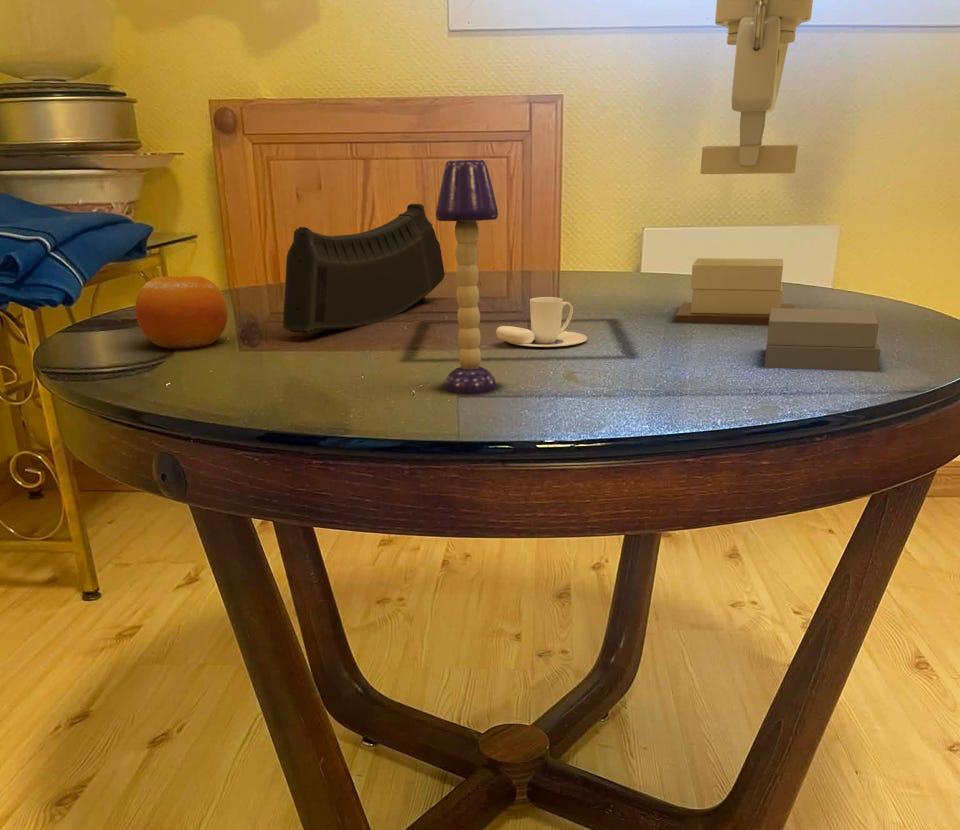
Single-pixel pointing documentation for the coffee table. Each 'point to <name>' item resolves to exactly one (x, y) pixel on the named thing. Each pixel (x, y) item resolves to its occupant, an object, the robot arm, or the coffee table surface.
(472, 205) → the toy lamp
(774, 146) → the tan flat block
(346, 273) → the magazine
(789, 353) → the brown rectangular block
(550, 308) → the teacup and saucer
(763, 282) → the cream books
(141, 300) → the fruit
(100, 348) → the coffee table surface
